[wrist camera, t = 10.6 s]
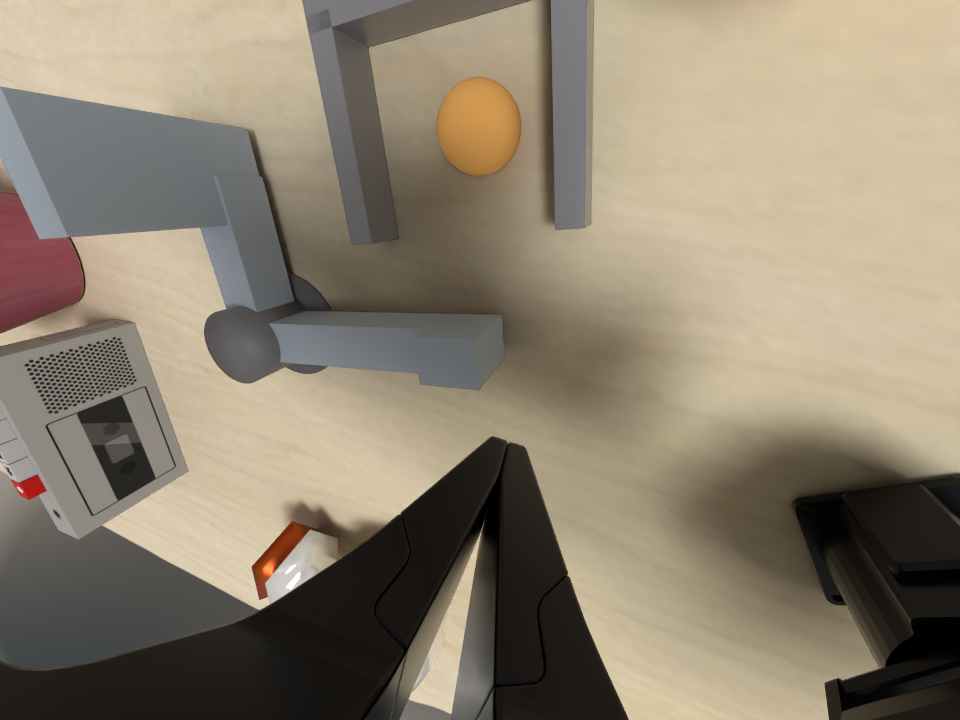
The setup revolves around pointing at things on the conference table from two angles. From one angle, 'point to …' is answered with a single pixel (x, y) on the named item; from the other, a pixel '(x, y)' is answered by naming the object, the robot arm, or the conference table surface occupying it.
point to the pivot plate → (309, 302)
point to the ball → (478, 126)
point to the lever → (217, 238)
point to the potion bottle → (312, 574)
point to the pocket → (354, 113)
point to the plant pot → (33, 268)
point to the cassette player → (85, 424)
